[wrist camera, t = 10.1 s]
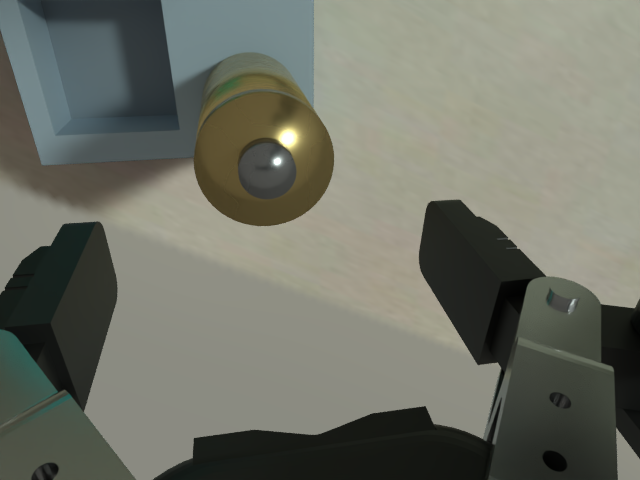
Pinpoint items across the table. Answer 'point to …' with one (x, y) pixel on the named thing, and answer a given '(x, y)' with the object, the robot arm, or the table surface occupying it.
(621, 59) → the table surface
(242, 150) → the gold battery
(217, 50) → the housing
